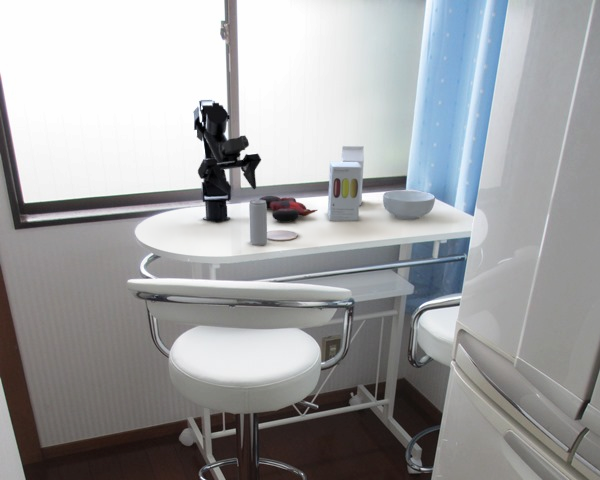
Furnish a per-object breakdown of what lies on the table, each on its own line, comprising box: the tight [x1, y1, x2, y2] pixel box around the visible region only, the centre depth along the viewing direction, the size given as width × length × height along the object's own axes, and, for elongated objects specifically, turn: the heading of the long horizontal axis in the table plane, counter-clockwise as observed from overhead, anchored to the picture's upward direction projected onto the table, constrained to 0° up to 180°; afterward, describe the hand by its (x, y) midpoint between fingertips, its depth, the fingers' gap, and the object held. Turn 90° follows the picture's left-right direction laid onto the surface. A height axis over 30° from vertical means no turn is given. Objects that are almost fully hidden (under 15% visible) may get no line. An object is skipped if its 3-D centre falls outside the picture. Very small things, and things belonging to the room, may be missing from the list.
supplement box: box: [327, 161, 361, 222], centre depth 219 cm, size 10×9×17 cm
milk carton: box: [341, 145, 365, 206], centre depth 236 cm, size 7×7×19 cm
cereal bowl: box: [382, 189, 436, 221], centre depth 223 cm, size 17×17×7 cm
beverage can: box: [248, 199, 268, 247], centre depth 194 cm, size 5×5×12 cm
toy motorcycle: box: [258, 195, 318, 223], centre depth 227 cm, size 25×5×16 cm
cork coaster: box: [267, 229, 298, 242], centre depth 204 cm, size 10×10×1 cm
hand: (241, 190), depth 196 cm, fingers open, 9 cm apart
